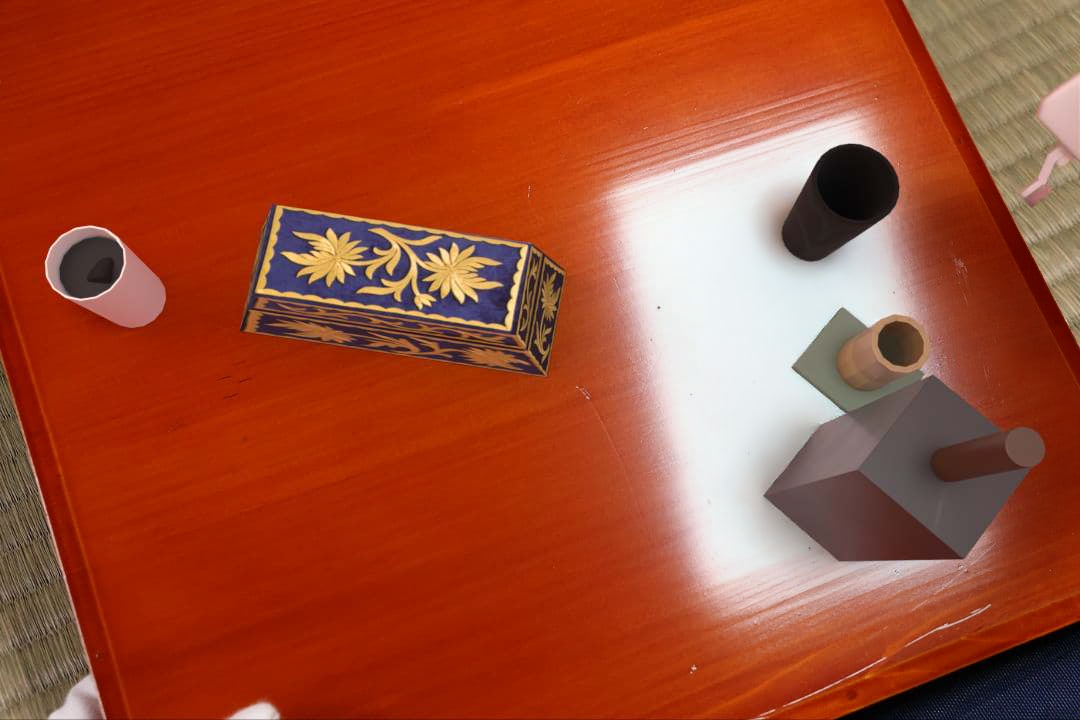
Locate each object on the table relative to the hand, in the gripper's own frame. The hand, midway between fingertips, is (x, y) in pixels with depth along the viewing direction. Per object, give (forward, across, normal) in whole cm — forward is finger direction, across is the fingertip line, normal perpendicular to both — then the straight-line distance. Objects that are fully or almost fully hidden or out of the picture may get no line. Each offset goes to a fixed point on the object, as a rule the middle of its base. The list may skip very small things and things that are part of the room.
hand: (1066, 243), depth 69 cm
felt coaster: (+21, -1, +2) cm, 21 cm away
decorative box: (+42, -34, -18) cm, 57 cm away
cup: (+18, -14, +8) cm, 24 cm away
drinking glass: (+55, -51, -31) cm, 81 cm away
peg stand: (+28, +5, -6) cm, 29 cm away
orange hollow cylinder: (+20, -1, +2) cm, 20 cm away
